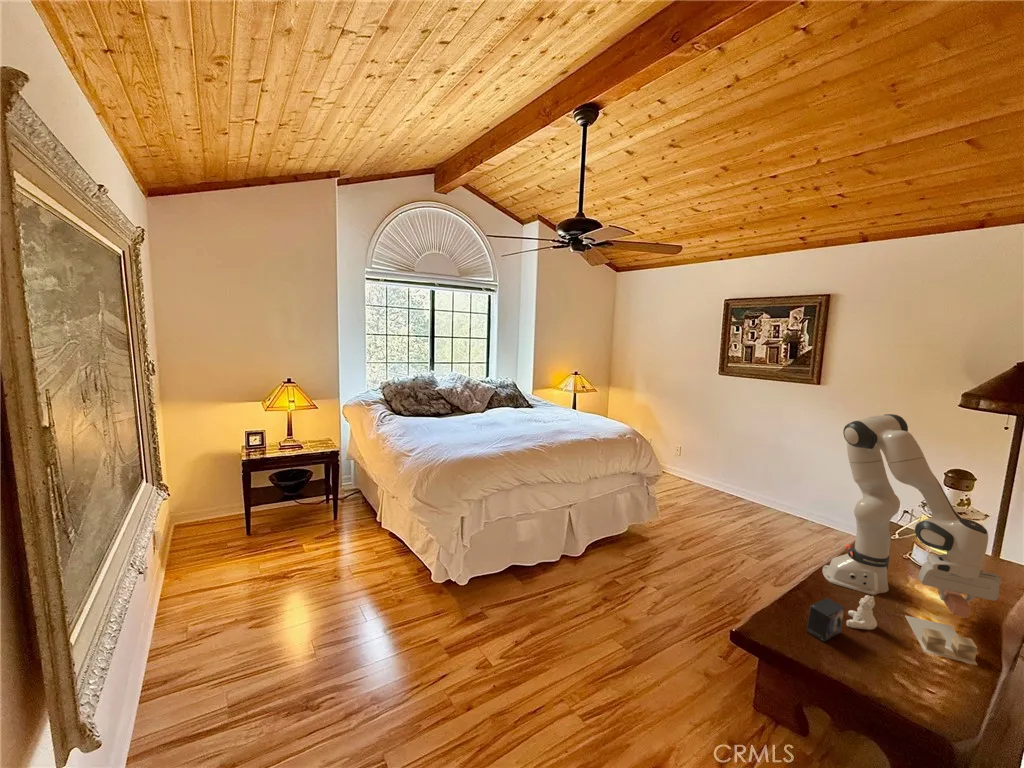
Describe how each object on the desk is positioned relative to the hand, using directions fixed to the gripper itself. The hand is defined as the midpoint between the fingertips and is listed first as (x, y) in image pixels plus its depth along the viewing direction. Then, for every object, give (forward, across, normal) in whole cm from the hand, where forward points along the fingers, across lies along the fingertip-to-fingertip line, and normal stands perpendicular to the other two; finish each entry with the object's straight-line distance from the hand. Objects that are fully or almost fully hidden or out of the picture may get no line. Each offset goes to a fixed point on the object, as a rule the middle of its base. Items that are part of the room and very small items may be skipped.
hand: (953, 602), depth 160 cm
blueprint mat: (+13, +3, +5) cm, 14 cm away
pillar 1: (+12, +7, +11) cm, 18 cm away
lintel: (+1, 0, 0) cm, 1 cm away
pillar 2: (+12, -1, +11) cm, 16 cm away
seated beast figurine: (+14, +26, +7) cm, 30 cm away
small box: (+14, +39, +18) cm, 45 cm away
